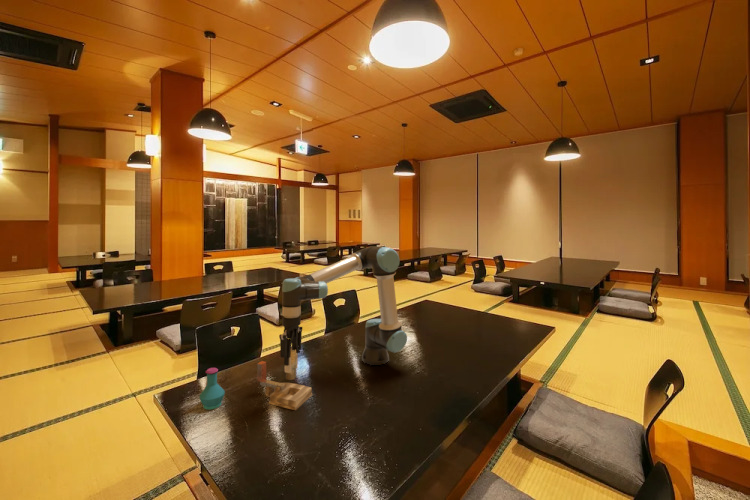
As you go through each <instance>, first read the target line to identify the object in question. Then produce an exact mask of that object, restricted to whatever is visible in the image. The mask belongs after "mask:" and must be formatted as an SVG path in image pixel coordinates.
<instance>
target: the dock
mask: <svg viewBox="0 0 750 500" xmlns="http://www.w3.org/2000/svg"><path fill="white" fill-rule="evenodd" d="M282 383H283V384H284V388H283V389H281V390H280V387H275V388H271V387H266V386H265V396H266V397H268V398H269V401H268V404H269V405H273V406H277V407H280V408H284V409H287V410H288V409H289V410H292V411H297V410H298V409H299V408H300V407H302V405H303V404H305V402H307V401H308V400H309V399H310V398H311V397H312V396H313V394H314V393H312V387H311V386H306V385H303V384H298V383H292V382H282Z"/></svg>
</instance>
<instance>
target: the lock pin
mask: <svg viewBox="0 0 750 500" xmlns="http://www.w3.org/2000/svg"><path fill="white" fill-rule="evenodd" d="M256 367H257V368H256V370H257V372H256V373H257V375H256V376H257V377H256V381H257V382H259V385H260V386H262V387H265V388H266V387H271V388H275V387H280V390H281V389H283V388H284V384H283V383H284V382H277V381H273V380H270V379H267V361H264V360H262V361H259V362H258V363H257V364H256Z"/></svg>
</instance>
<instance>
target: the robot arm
mask: <svg viewBox="0 0 750 500" xmlns="http://www.w3.org/2000/svg"><path fill="white" fill-rule="evenodd" d="M400 261H401V260H400V256H399V254H398V252H397V251H396V250H395V249H393V248H391V247H388V246H377V245H375V246H374V245H371V246H367V247H364V248H362V249H360V250H357V251H356V252H353V253H352V254H351V255H350V256H348V257H347V258H345V259H342V260H339V261H337V262H334V263H332V264H329V265H328V266H325V267H323V268H321V269H319V270H316V271H313V272H312V273H309V274H307V275H305V276H297V277H295V278H285V279H283V281H282V288H281V292H282V294H281V297H282V301H281V303H282V304H281V305H282V312H281V315H282V317H281V322H282V323H281V325H282V326H283V332H282V334H279V341H280V343H279V348H280V358H282V359H284V360H283V363H284V365H283V366H284V373H286V372H287V373H291V357H290V351H291V348H294V349H296V370H297V369H298V359H299V358H298V357H299V355H298V354H299V353H301V350H302V333H303V326H300V325H301V321H302V319H301V318H302V317H301V314H302V310H301V309H302V307H301V305H302V302H303V301H312V300H320V299H325V298H326V297H327V296H328V293H329V289H328V284H329V283H331V282H333V281H335V280H337V279H340V278H341V277H345V276H347V275H348V274H350V273H353V272H355V271H363V270H364V269H372V274H373V275H372V276H373V277H375V279H376V286H377V294H378V304H379V311H380V312H379V313H380V314H379V315H380V318H372V319H371V318H370V319H368V320H367V321H366V322H365V333H364V334H365V336H364V337H365V343H364V344H365V346H364V350H363V352H362V356H361V362H362V361H363V362H365V363H367V364H370V365H369V366H371V365H380V364H384V363H386V362H388V361H389V362H390V355H389V353H388V351H389V352H391V353H399V352H401V351H402V350H403V349H404V348H405V346H406V344H407V342H408V336H407V333H406V332H405V331H404V330H403V328H402V323H401V321H399V317H398V310H397V309H398V308H397V298H396V290H395V278H394V276H395V275H396V274H397V269H398V268H399V266H400ZM363 362H362V363H363ZM389 362H388V363H389ZM365 363H364V364H365ZM367 364H366V365H367Z"/></svg>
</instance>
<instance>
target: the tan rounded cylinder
mask: <svg viewBox="0 0 750 500" xmlns="http://www.w3.org/2000/svg"><path fill="white" fill-rule="evenodd" d="M290 357H291V373H287V372H285V379H286V380H288V381H292V380H295V379H296V378H297V369H296V349H294V348H292V347H291V351H290Z"/></svg>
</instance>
